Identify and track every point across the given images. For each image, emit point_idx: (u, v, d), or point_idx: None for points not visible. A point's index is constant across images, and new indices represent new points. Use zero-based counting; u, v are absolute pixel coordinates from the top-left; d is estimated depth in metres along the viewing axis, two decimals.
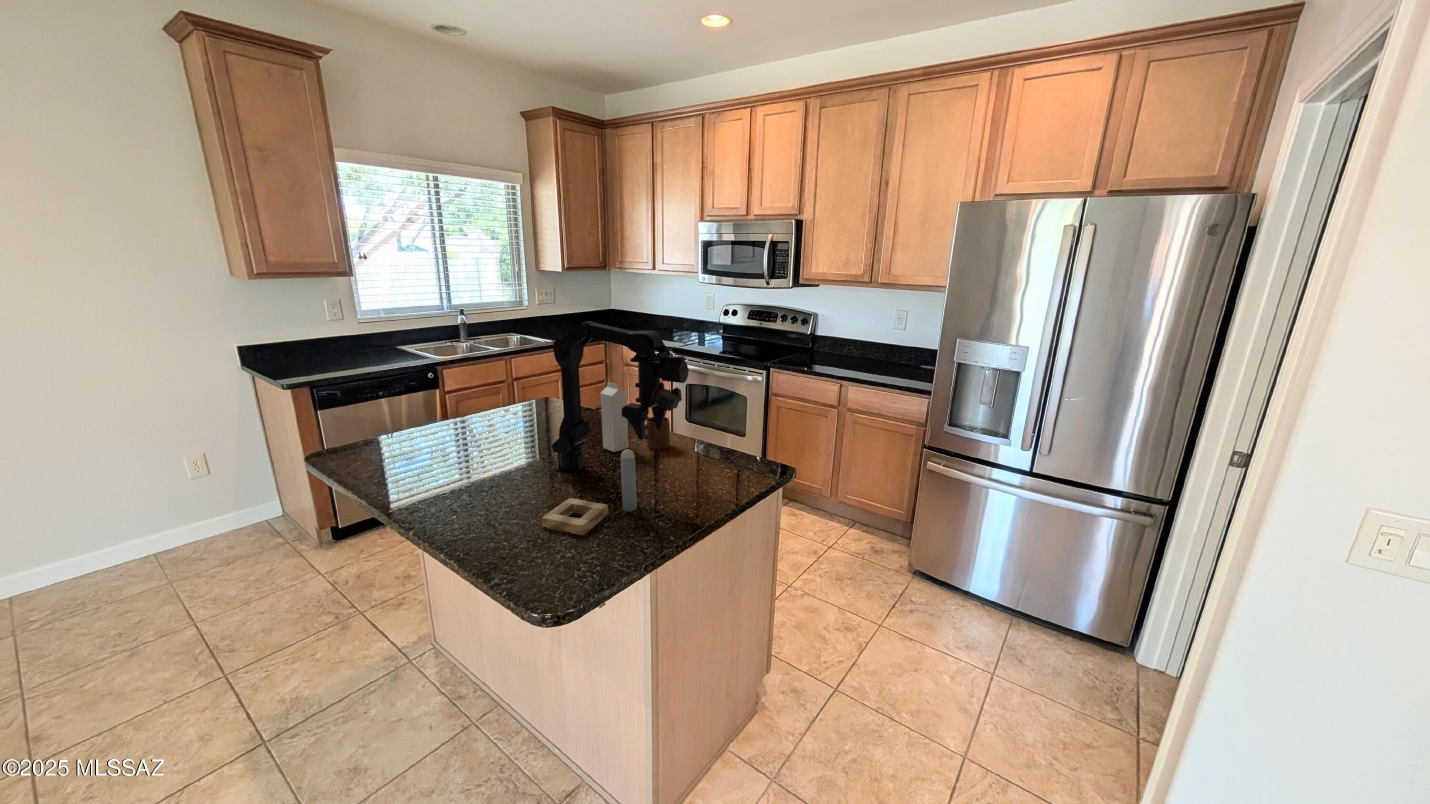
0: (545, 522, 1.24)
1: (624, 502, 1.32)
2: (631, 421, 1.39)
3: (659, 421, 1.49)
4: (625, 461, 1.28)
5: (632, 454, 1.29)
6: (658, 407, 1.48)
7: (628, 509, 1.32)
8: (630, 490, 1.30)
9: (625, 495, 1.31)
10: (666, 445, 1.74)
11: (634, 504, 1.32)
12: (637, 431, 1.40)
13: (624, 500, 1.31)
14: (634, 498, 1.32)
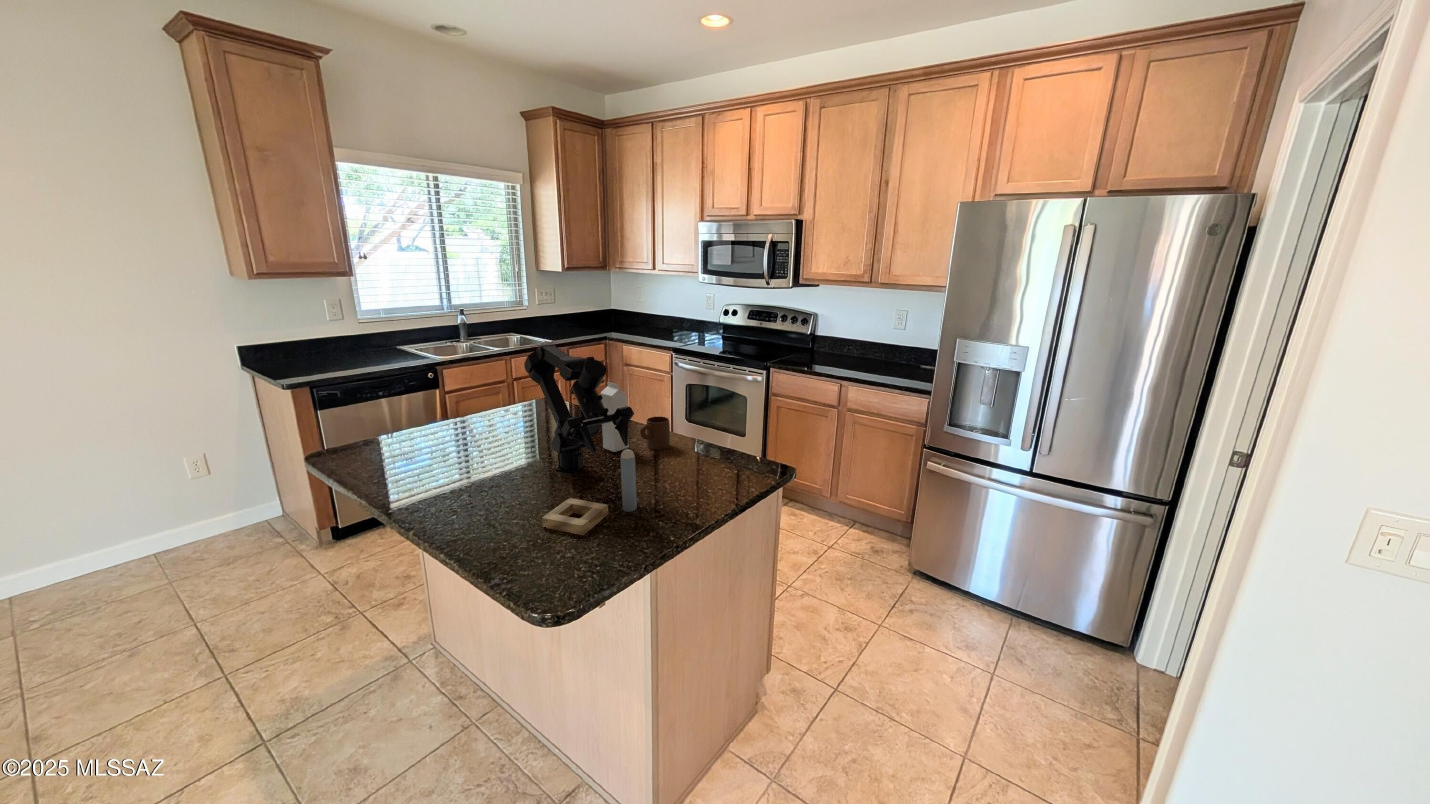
0: (545, 522, 1.24)
1: (624, 502, 1.32)
2: None
3: None
4: (625, 461, 1.28)
5: (632, 454, 1.29)
6: None
7: (628, 509, 1.32)
8: (630, 490, 1.30)
9: (625, 495, 1.31)
10: (666, 445, 1.74)
11: (634, 504, 1.32)
12: None
13: (624, 500, 1.31)
14: (634, 498, 1.32)
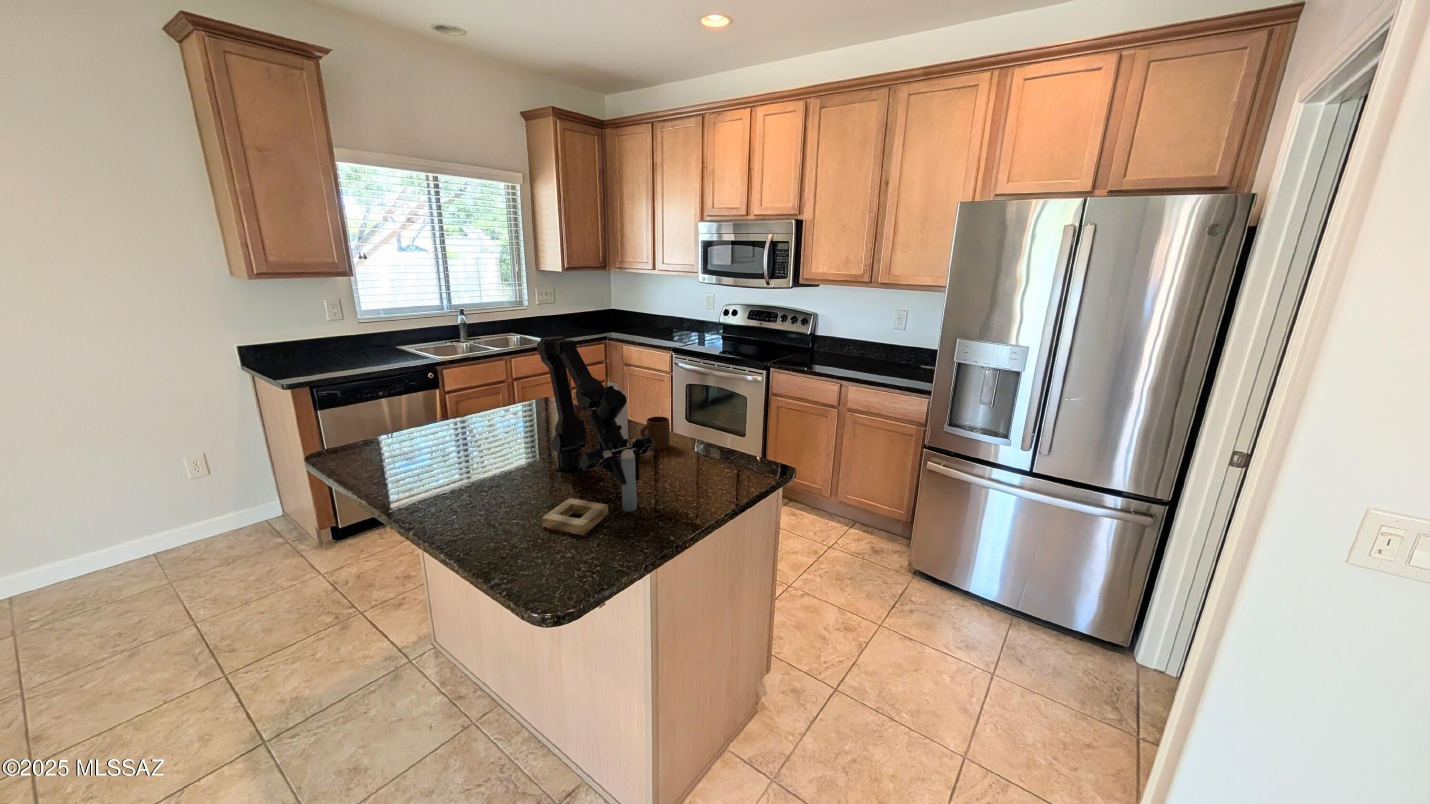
0: (545, 522, 1.24)
1: (624, 502, 1.32)
2: None
3: None
4: (625, 461, 1.28)
5: (632, 454, 1.29)
6: None
7: (628, 509, 1.32)
8: (630, 490, 1.30)
9: (625, 495, 1.31)
10: (666, 445, 1.74)
11: (634, 504, 1.32)
12: None
13: (624, 500, 1.31)
14: (634, 498, 1.32)
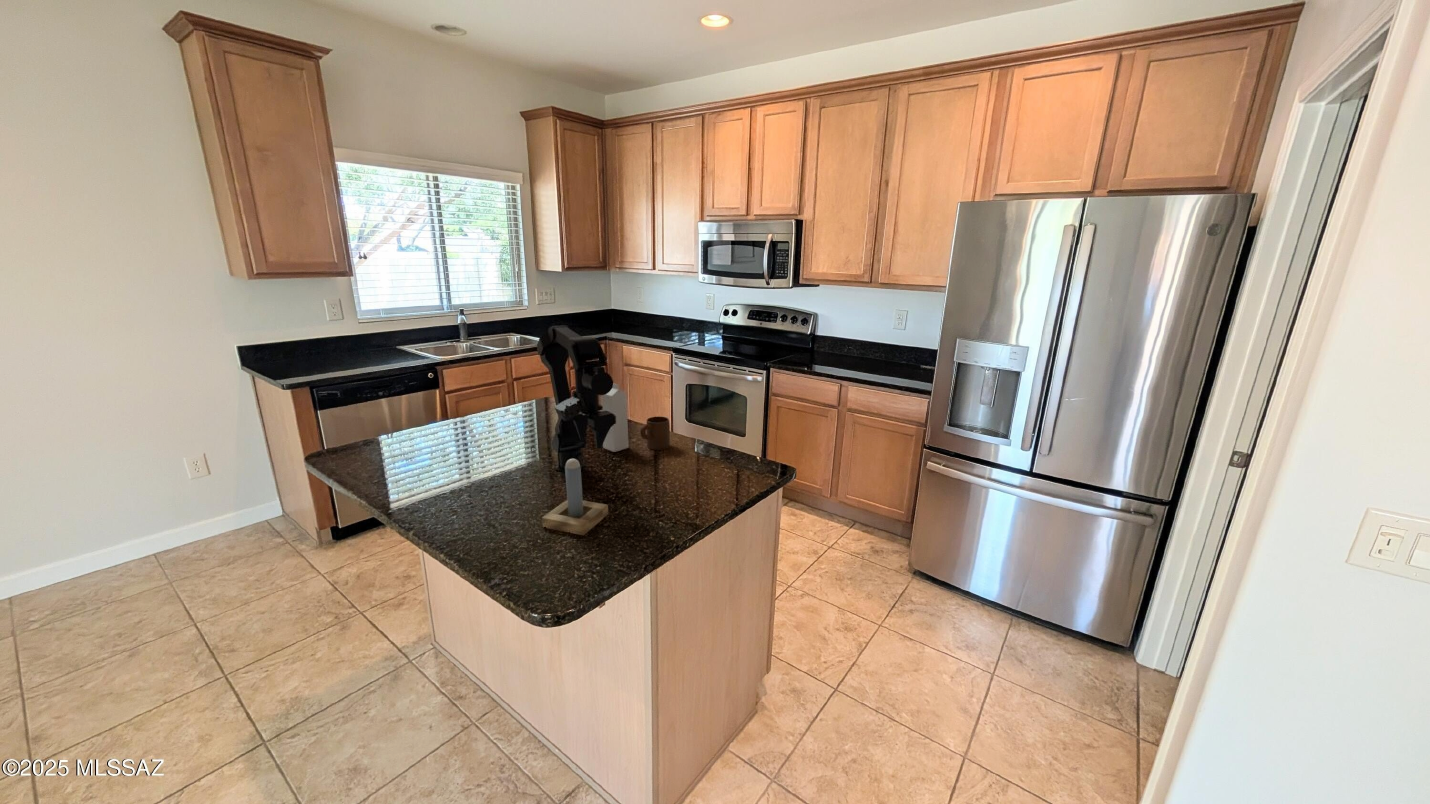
0: (545, 522, 1.24)
1: (568, 513, 1.26)
2: None
3: None
4: (567, 471, 1.22)
5: (575, 464, 1.22)
6: None
7: None
8: (572, 501, 1.24)
9: (568, 506, 1.25)
10: (666, 445, 1.74)
11: (578, 517, 1.26)
12: None
13: (568, 511, 1.26)
14: (578, 511, 1.25)
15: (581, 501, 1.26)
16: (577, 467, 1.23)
